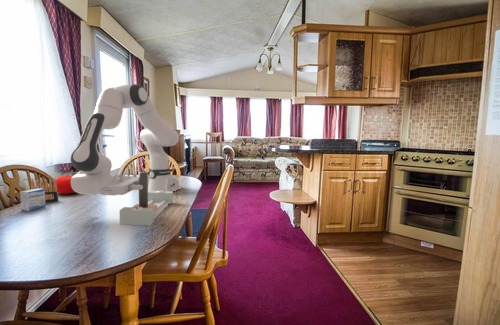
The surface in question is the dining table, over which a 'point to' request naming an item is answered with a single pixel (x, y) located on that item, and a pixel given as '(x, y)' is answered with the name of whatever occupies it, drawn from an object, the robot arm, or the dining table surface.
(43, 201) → the medicine box
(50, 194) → the ammunition clip
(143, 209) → the track
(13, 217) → the dining table surface
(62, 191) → the tomato
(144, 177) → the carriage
